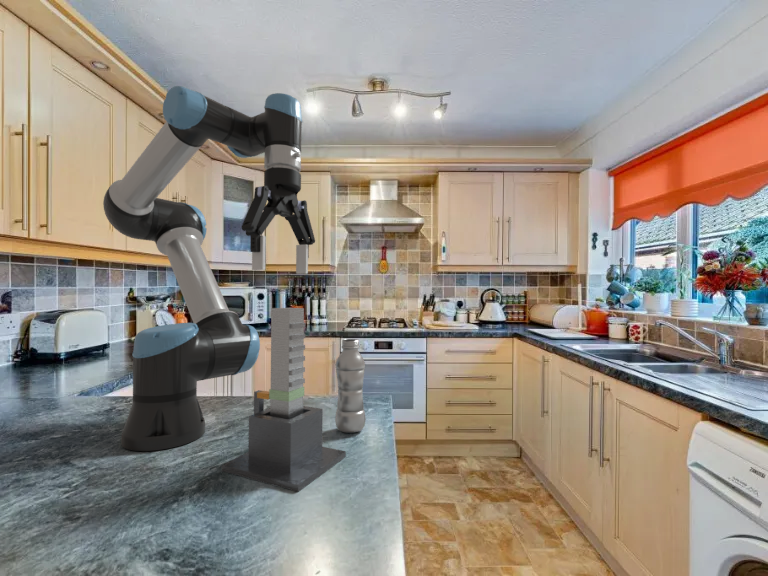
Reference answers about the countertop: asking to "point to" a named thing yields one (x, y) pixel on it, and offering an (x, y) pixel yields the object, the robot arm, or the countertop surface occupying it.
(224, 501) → the countertop surface
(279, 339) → the column
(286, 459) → the stand
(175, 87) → the robot arm
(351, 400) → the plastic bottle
